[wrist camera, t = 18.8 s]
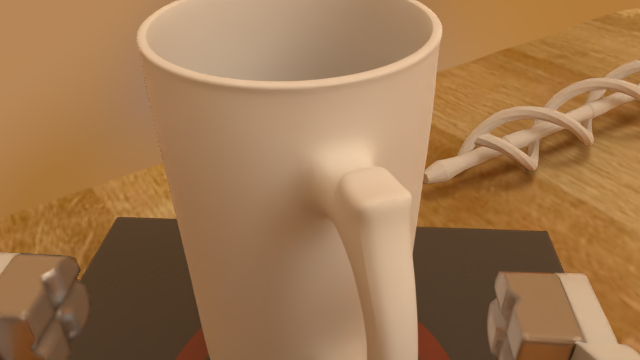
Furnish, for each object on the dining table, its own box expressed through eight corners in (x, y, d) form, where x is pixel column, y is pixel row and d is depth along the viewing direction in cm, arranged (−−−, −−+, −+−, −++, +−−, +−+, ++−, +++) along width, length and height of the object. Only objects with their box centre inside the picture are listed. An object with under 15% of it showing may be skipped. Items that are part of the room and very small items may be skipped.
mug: (195, 311, 21) (129, -6, 14) (359, 271, 23) (371, -31, 16) (250, 617, 13) (163, 235, 6) (495, 522, 15) (634, 138, 8)
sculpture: (388, 183, 32) (708, 55, 43) (439, 248, 30) (767, 94, 40) (413, 86, 27) (773, -34, 37) (478, 155, 24) (847, 4, 35)
